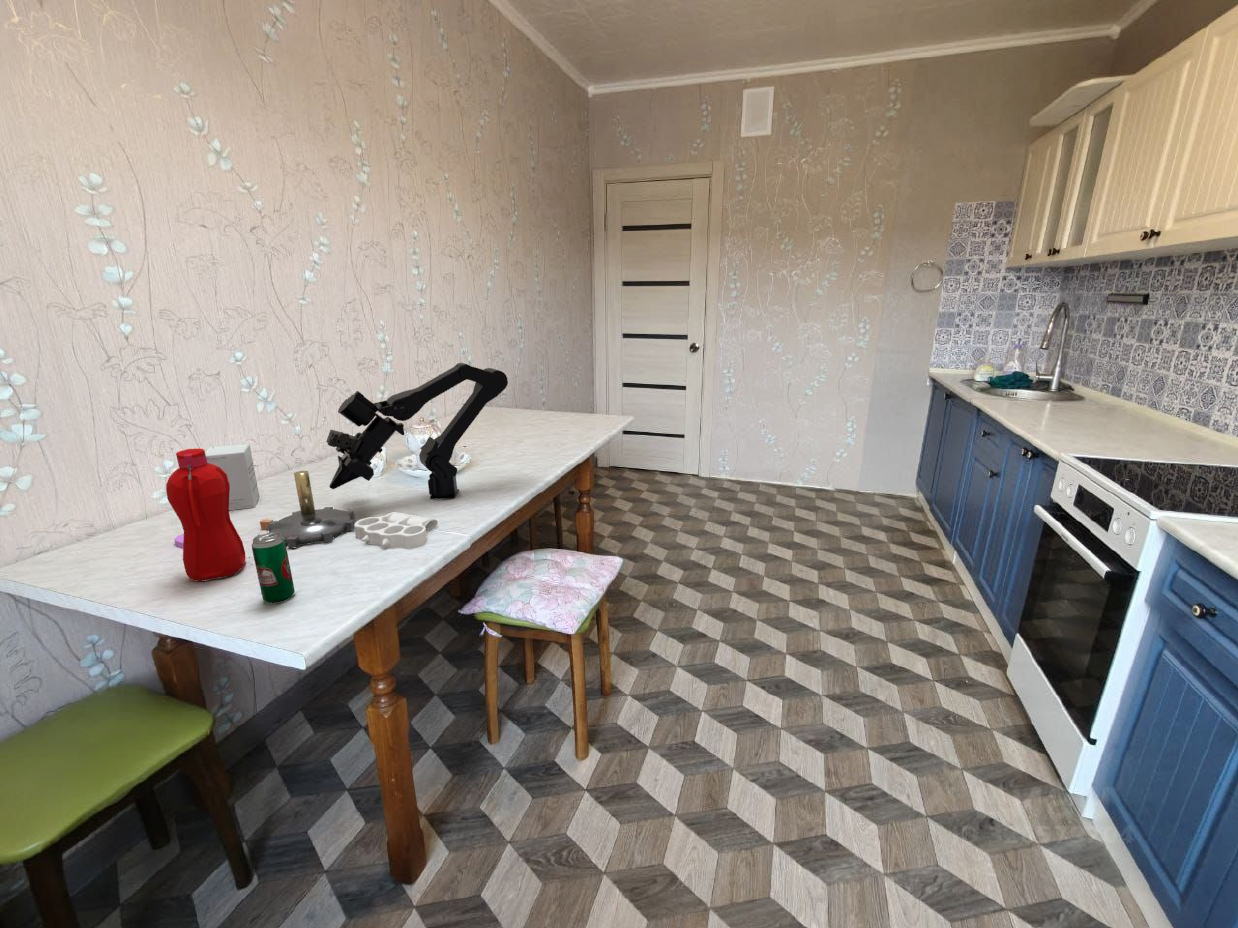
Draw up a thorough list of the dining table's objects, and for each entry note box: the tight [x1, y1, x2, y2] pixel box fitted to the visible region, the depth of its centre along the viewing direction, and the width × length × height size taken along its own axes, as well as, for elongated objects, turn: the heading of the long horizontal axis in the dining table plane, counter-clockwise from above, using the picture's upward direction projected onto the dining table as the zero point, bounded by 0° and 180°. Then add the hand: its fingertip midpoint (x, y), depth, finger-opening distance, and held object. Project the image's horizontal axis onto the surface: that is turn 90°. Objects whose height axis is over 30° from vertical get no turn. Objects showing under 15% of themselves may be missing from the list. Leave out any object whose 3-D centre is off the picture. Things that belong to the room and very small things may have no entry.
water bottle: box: [165, 448, 246, 582], centre depth 108 cm, size 9×11×25 cm
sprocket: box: [267, 470, 356, 549], centre depth 129 cm, size 19×19×12 cm
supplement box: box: [205, 443, 260, 511], centre depth 145 cm, size 9×9×15 cm
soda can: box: [251, 531, 296, 604], centre depth 101 cm, size 5×5×12 cm
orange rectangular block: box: [259, 519, 274, 531], centre depth 132 cm, size 2×1×2 cm, turn 83°
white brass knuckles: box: [354, 511, 439, 549], centre depth 128 cm, size 3×18×15 cm
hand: (331, 488), depth 137 cm, fingers closed
